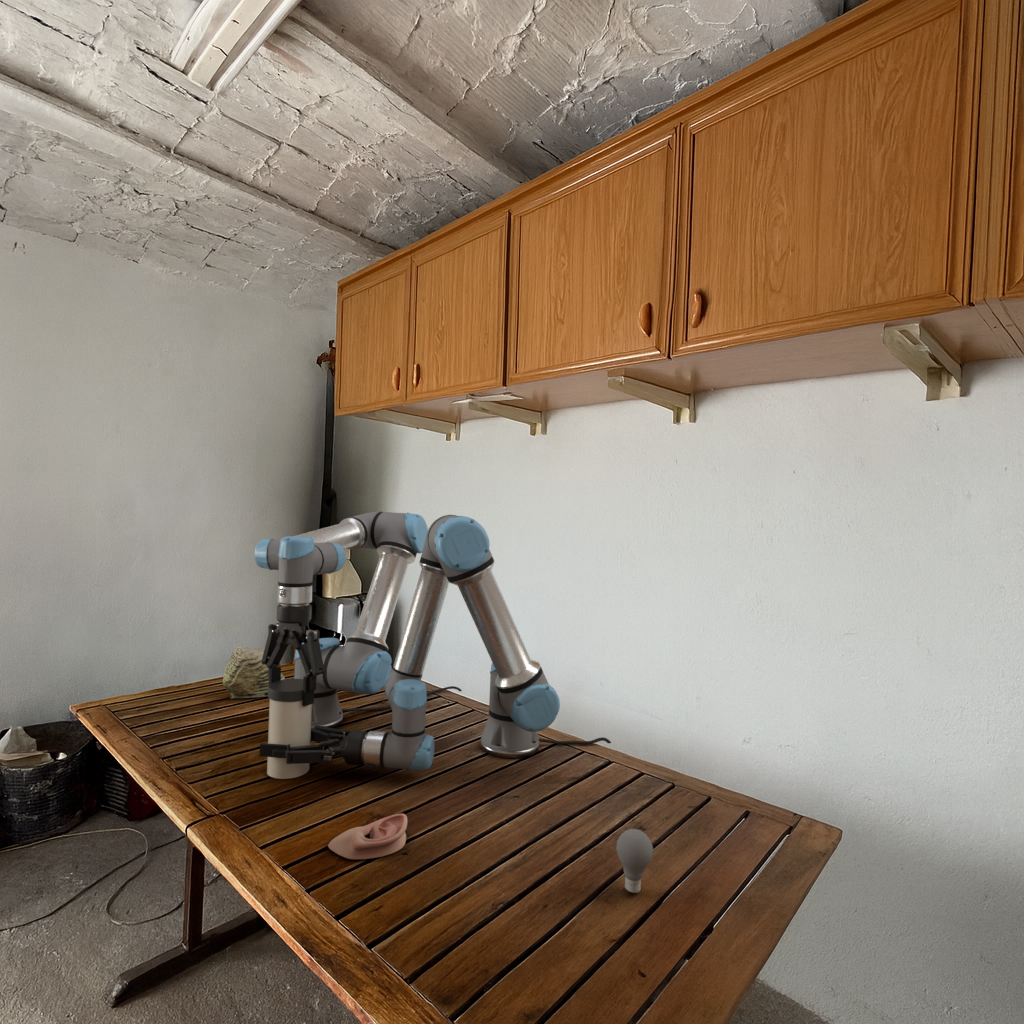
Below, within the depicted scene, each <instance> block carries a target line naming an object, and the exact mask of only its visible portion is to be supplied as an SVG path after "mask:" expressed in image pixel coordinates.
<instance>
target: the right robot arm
mask: <svg viewBox="0 0 1024 1024" xmlns="http://www.w3.org/2000/svg"><path fill="white" fill-rule="evenodd" d="M491 552H492V551H491V550H490V538H489V535H488V532H487V531H486V529H485V528H484V527H483V525H481V524H480V523H479V521H477V520H476V519H474V518H471V517H469V516H465V515H457V514H445V515H441V516H439V517H438V518H436V519H435V520H434V521H433V522H432V523H431V524H430V526H429V527H428V532H427V534H426V538H425V542H424V547H423V551H422V553H421V555H420V559H419V562H418V563H419V565H420V567H421V570H420V573H419V577H418V580H417V583H416V587H415V590H414V594H413V597H412V601H411V604H410V608H409V611H408V613H407V618H406V621H405V624H404V627H403V632H402V634H401V638H400V642H399V644H398V649H397V652H396V656H395V659H394V662H393V666H392V668H391V672H390V675H389V676H388V678H387V679H386V682H385V685H384V695H385V696H386V699H387V701H388V703H389V706H391V708H390V709H391V714H392V715H391V732H390V731H389V732H388V731H381V730H380V731H378V730H369V731H367V730H361V729H351V730H350V729H339V728H328V727H323V726H317V725H316V726H314V728H311V743H312V742H314V743H315V744H311V745H306V746H297V747H290V744H288V745H281V744H268V742H267V743H266V742H261V743H260V744H259V754H258V755H259V757H264V758H265V757H266V758H267V757H275V758H286V763H287V764H302V763H310V764H327V765H331V764H333V761H334V759H338V758H343V759H344V763H345V764H346V765H347V766H358V767H359V766H363V765H364V766H365V767H374V768H375V769H379V768H390V769H400V770H409V771H426V770H429V769H430V768H431V766H432V764H433V762H434V757H435V747H436V746H435V745H436V744H435V737H434V736H433V735H430V734H426V715H427V714H426V712H427V701H428V696H426V693H427V685H426V683H425V682H424V681H421V680H422V678H423V674H424V671H425V667H426V664H427V660H428V656H429V653H430V650H431V647H432V643H433V640H434V637H435V633H436V630H437V626H438V623H439V620H440V616H441V613H442V609H443V606H444V602H445V599H446V597H447V592H448V588H449V585H451V584H452V585H454V586H457V588H458V590H459V592H460V594H461V597H462V598H463V601H464V603H465V605H466V607H467V610H468V611H469V614H470V617H471V619H472V620H473V623H474V625H475V628H476V629H477V632H478V634H479V637H480V638H481V640H482V643H483V644H484V647H485V649H486V652H487V654H488V656H489V658H490V661H491V665H490V671H489V674H490V677H489V702H488V703H489V704H488V717H487V719H486V722H485V726H484V729H483V731H482V733H481V736H480V748H481V750H482V751H483V752H485V753H486V754H488V755H490V756H494V757H498V758H503V759H522V758H527V757H531V756H533V755H535V754H537V753H538V752H539V750H540V743H548V744H554V745H586V746H587V745H592V744H596V743H600V742H606V744H612V741H611V740H609V738H607V737H598V738H594V739H592V740H554V739H548V738H539V734H538V732H541V731H543V730H546V729H547V728H548V727H550V726H551V725H552V724H553V723H554V722H555V720H556V719H557V716H558V715H559V712H560V707H561V702H560V701H561V700H560V697H559V695H558V692H557V691H556V689H555V688H554V687H553V686H552V685H550V683H549V681H548V679H547V677H546V674H545V672H544V670H543V668H542V666H541V663H540V662H539V661H537V660H535V659H531V657H530V655H529V652H528V650H527V647H526V646H525V643H524V641H523V639H522V636H521V634H520V631H519V630H518V627H517V625H516V623H515V621H514V618H513V616H512V614H511V612H510V609H509V606H508V605H507V603H506V600H505V598H504V596H503V594H502V591H501V589H500V586H499V584H498V582H497V580H496V577H495V575H494V573H493V568H494V565H495V559H494V556H493V554H492V553H491Z"/></svg>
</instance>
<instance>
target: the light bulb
mask: <svg viewBox="0 0 1024 1024" xmlns="http://www.w3.org/2000/svg"><path fill="white" fill-rule="evenodd" d="M615 849H616V854H617V857H618V859H619V861H620V863H621V865H622V867H623V873H624V874H623V875H624V876H625V878H624V888H625V890H627V891H628V892H630V893H634V894H635V893H639V892H640V891H641V889H642V887H641V886H642V879H643V877H644V875H645V871H646V868H647V867H648V866H649V864H650V863H651V861H652V859H653V855H654V847H653V843H652V841H651V838H649V836H648V835H647V834H646V833H645V832H643V831H642V830H641V829H636V828H629V829H627V830H625V831H623V832H622V833H621V834H620V835H619V837H618V839H617V841H616V847H615Z"/></svg>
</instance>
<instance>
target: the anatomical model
mask: <svg viewBox="0 0 1024 1024" xmlns="http://www.w3.org/2000/svg"><path fill="white" fill-rule="evenodd" d="M407 827H408V816H407V815H406V814H405V813H396V814H392V815H388V816H385V817H383V818H380V819H377V820H376V821H373V822H371V823H368V824H366V825H363V826H356V827H352V828H350V829H347V830H345V831H343V832H341V833H340V834H338V835H337V836H335V837H334V838H333V839H331V841H329V843H328V845H327V847H328V849H329V850H331V851H332V852H334V853H335V854H337V855H338V856H341V857H342V858H345V859H347V860H355V861H356V860H367V859H369V860H370V859H375V858H381V857H385V856H388V855H391V854H395V853H396V852H398V851H400V850H401V849H403V847H404V846H405V844H406V841H407V833H406V830H407Z"/></svg>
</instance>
